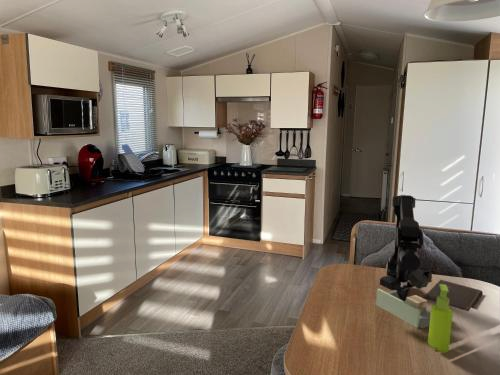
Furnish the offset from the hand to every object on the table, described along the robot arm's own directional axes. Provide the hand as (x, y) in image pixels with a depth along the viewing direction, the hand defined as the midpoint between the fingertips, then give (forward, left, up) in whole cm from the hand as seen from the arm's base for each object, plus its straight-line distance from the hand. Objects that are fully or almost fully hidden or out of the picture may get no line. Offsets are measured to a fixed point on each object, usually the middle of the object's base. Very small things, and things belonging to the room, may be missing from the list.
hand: (402, 301), depth 134 cm
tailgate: (+3, 0, -6) cm, 6 cm away
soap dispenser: (+5, +18, -6) cm, 20 cm away
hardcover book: (-32, -2, -7) cm, 33 cm away
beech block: (-7, 0, -5) cm, 9 cm away
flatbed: (-5, 0, -6) cm, 8 cm away
